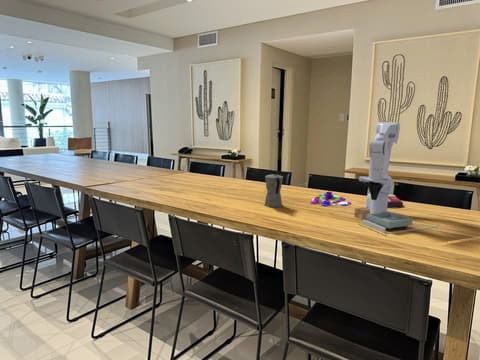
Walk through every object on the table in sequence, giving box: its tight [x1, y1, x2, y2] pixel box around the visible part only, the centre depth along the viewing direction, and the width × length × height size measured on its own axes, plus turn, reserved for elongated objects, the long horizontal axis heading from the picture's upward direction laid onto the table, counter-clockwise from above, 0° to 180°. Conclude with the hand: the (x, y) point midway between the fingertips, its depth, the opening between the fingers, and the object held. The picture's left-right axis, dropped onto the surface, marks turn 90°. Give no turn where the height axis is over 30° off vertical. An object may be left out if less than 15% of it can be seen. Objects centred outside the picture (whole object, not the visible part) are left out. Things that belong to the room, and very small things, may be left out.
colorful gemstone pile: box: [310, 190, 352, 207], centre depth 185 cm, size 25×20×4 cm
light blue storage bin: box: [365, 210, 414, 231], centre depth 140 cm, size 12×12×4 cm
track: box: [357, 219, 438, 237], centre depth 142 cm, size 16×28×3 cm, turn 111°
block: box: [354, 206, 371, 220], centre depth 152 cm, size 4×4×5 cm
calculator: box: [387, 194, 404, 209], centre depth 181 cm, size 11×4×15 cm
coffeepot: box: [264, 170, 284, 208], centre depth 174 cm, size 15×9×18 cm, turn 10°
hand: (374, 199), depth 149 cm, fingers closed
